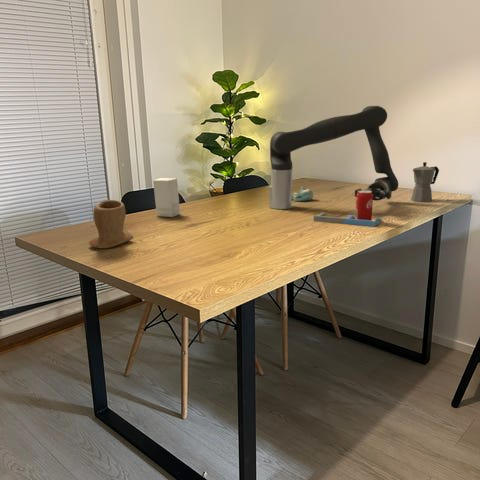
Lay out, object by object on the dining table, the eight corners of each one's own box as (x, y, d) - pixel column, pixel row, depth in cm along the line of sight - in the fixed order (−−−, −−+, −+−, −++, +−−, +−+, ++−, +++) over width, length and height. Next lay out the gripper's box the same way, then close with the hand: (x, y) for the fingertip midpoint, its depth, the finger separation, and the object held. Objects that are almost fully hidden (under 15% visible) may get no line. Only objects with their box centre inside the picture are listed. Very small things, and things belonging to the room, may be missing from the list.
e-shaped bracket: (313, 220, 186) (313, 215, 185) (322, 215, 195) (322, 210, 195) (374, 226, 175) (375, 221, 175) (381, 220, 185) (381, 215, 184)
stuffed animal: (289, 187, 233) (313, 183, 229) (291, 201, 234) (315, 197, 231) (285, 190, 223) (310, 186, 219) (288, 205, 224) (312, 201, 221)
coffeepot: (417, 203, 215) (421, 164, 210) (403, 200, 224) (406, 162, 219) (443, 200, 221) (447, 162, 216) (428, 197, 229) (431, 160, 224)
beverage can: (372, 224, 179) (373, 192, 176) (355, 223, 181) (356, 192, 177) (371, 220, 185) (372, 190, 182) (354, 219, 187) (356, 189, 183)
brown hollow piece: (108, 253, 148) (103, 206, 144) (84, 247, 155) (79, 202, 151) (143, 241, 160) (140, 198, 156) (119, 237, 167) (116, 195, 163)
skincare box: (180, 214, 201) (178, 178, 196) (171, 217, 195) (169, 180, 191) (163, 213, 204) (161, 177, 200) (155, 216, 198) (152, 179, 194)
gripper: (362, 180, 204) (351, 186, 190) (395, 182, 197) (388, 188, 184) (361, 197, 206) (351, 204, 192) (394, 200, 199) (386, 207, 186)
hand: (369, 196), depth 188 cm, fingers open, 8 cm apart
